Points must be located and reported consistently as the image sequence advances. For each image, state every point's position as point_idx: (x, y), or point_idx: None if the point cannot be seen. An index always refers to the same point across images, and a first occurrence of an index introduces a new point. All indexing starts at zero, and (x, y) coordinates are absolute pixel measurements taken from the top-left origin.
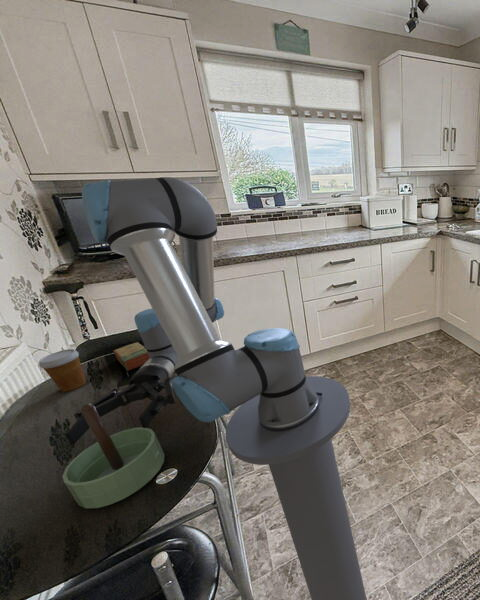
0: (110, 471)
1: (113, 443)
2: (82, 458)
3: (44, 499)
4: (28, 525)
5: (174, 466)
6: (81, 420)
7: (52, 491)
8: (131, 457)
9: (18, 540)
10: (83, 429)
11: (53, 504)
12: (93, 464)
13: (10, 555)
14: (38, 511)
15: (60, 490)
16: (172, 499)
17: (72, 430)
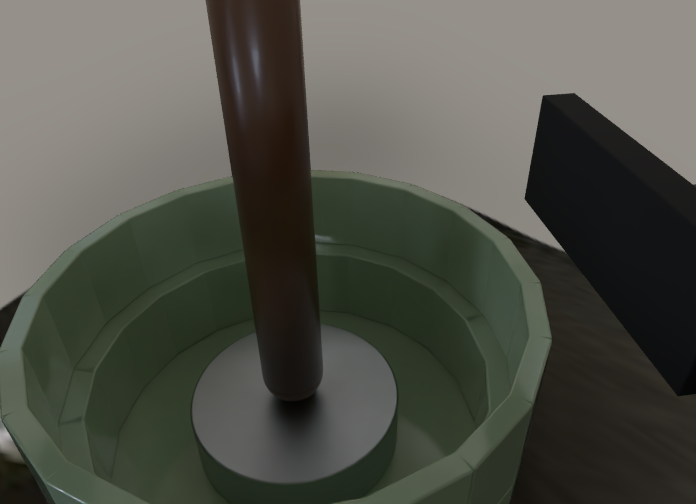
0: (342, 380)
1: (242, 242)
2: (518, 328)
3: (662, 378)
4: (563, 286)
5: (11, 468)
6: (646, 179)
7: (684, 416)
8: (269, 468)
9: (527, 251)
10: (596, 245)
11: (568, 349)
12: (486, 402)
13: (492, 223)
14: (602, 329)
15: (638, 415)
16: (8, 305)
17: (560, 114)
